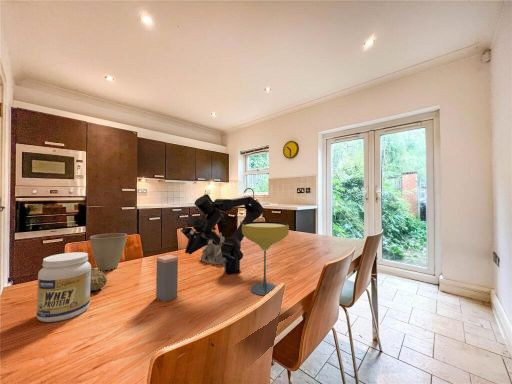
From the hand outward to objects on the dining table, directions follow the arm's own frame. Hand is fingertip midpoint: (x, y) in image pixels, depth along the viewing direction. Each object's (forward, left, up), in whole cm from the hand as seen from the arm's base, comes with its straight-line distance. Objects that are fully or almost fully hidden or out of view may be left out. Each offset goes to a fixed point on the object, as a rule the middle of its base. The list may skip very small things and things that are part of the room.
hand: (187, 253), depth 84 cm
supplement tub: (+36, +3, -14) cm, 38 cm away
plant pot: (+32, -39, -14) cm, 52 cm away
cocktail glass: (-27, +12, -14) cm, 33 cm away
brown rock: (+35, -18, -14) cm, 42 cm away
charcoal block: (+7, +4, -14) cm, 16 cm away
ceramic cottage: (-19, -33, -14) cm, 41 cm away
